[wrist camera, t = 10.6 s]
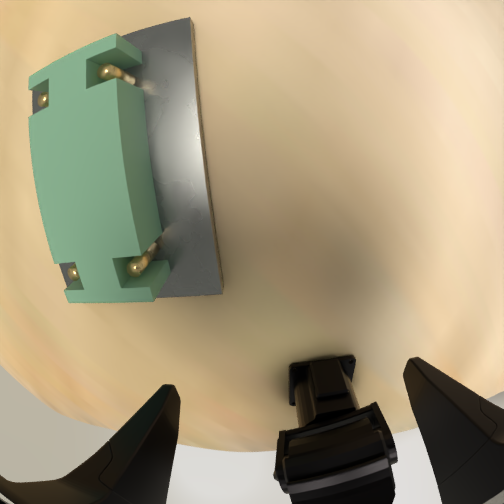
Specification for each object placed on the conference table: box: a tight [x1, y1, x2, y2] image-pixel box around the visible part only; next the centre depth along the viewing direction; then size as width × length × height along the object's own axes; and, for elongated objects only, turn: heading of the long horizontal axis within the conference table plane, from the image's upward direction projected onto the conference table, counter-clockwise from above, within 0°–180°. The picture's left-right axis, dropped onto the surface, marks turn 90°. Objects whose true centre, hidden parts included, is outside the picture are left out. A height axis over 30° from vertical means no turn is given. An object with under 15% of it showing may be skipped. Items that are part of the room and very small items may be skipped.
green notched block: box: [29, 33, 171, 303], centre depth 15 cm, size 16×7×4 cm, turn 5°
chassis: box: [32, 17, 224, 298], centre depth 15 cm, size 20×14×5 cm
